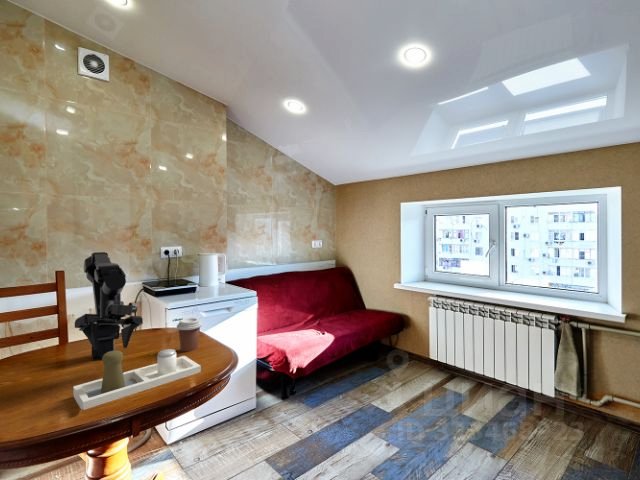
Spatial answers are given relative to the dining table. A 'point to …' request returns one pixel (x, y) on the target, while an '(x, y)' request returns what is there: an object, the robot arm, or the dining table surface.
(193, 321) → the coffee cup
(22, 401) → the dining table surface
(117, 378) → the olive pepper shaker
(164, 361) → the salt shaker
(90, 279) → the robot arm
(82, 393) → the condiment rail
